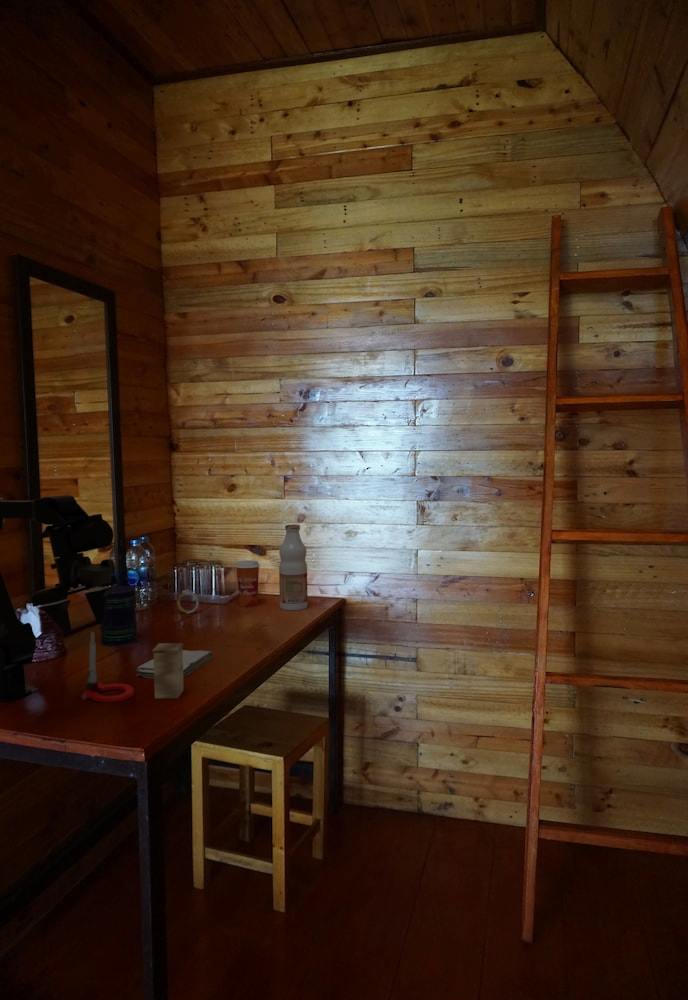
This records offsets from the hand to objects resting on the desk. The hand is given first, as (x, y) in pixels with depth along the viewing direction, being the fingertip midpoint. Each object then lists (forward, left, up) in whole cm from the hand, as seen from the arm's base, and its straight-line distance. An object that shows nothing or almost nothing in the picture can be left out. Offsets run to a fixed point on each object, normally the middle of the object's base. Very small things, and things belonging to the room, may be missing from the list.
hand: (85, 629), depth 140 cm
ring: (-39, +72, -17) cm, 83 cm away
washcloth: (-3, +29, -17) cm, 34 cm away
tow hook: (-2, +8, -17) cm, 19 cm away
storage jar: (-33, +38, -17) cm, 53 cm away
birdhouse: (+8, +16, -17) cm, 24 cm away
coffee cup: (-29, +91, -17) cm, 97 cm away
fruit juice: (-13, +95, -17) cm, 97 cm away
